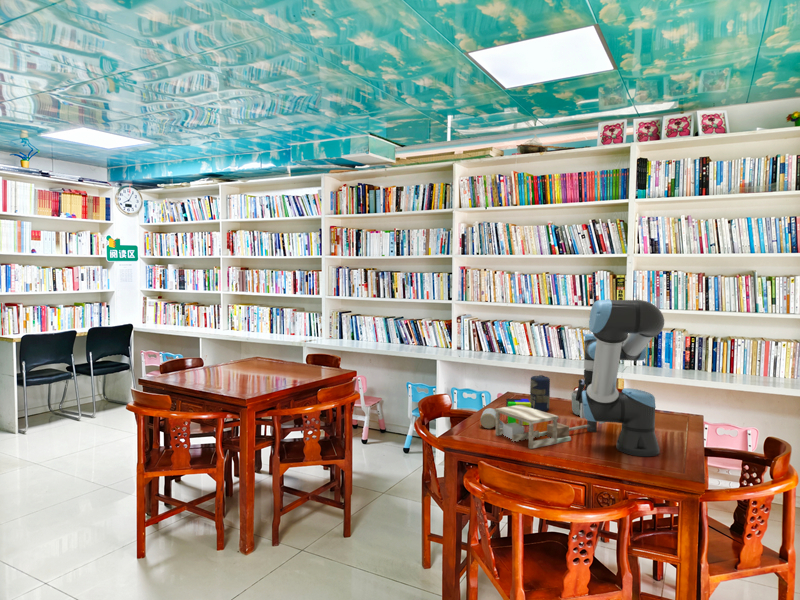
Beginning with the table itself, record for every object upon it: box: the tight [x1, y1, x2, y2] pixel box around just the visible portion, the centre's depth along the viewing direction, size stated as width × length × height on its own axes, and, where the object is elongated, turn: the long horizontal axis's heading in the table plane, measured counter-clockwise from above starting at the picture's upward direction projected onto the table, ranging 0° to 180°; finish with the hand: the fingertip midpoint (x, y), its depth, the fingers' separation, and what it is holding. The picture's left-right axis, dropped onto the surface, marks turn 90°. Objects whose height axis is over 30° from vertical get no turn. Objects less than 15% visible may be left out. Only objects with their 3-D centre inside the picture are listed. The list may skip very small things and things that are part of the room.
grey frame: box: [546, 420, 598, 439], centre depth 227 cm, size 25×6×12 cm, turn 118°
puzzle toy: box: [505, 398, 531, 425], centre depth 245 cm, size 10×10×10 cm
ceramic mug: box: [480, 407, 505, 430], centre depth 237 cm, size 11×8×8 cm
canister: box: [529, 374, 551, 412], centre depth 268 cm, size 10×10×18 cm
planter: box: [571, 389, 584, 416], centre depth 259 cm, size 12×12×11 cm
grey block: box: [502, 423, 525, 440], centre depth 223 cm, size 6×6×5 cm
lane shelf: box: [494, 405, 572, 450], centre depth 221 cm, size 22×22×11 cm
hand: (592, 420), depth 232 cm, fingers open, 9 cm apart
